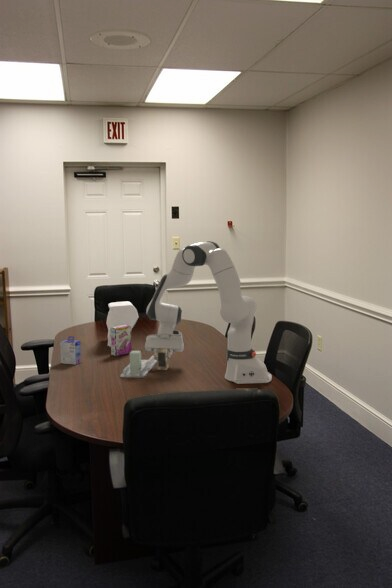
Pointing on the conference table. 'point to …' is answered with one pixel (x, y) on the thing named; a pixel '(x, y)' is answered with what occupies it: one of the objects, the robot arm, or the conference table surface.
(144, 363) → the rail
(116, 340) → the candy bar box
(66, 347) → the ink cartridge box
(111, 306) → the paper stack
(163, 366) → the wooden block
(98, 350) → the conference table surface
